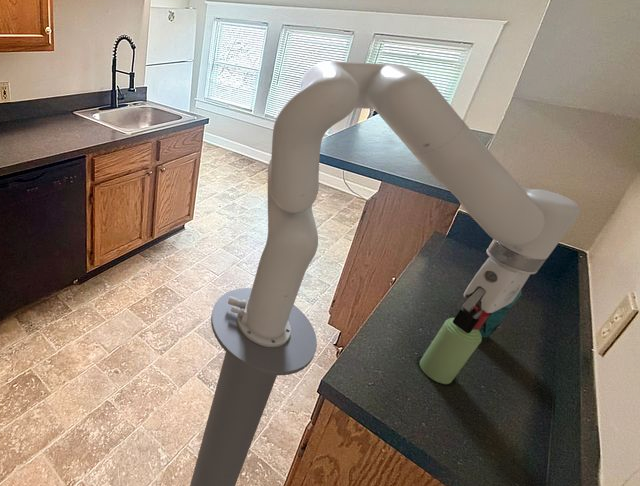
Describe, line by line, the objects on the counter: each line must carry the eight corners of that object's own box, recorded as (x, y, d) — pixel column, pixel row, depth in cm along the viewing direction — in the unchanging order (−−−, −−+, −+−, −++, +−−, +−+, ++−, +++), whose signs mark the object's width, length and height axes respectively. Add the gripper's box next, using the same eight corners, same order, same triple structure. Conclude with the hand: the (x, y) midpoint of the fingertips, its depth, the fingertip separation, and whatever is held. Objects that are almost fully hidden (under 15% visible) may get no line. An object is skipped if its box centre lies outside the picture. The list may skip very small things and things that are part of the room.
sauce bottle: (422, 376, 83) (462, 317, 74) (416, 353, 88) (453, 296, 80) (455, 388, 81) (500, 329, 73) (448, 364, 87) (489, 306, 78)
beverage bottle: (451, 322, 98) (490, 263, 89) (471, 320, 100) (512, 261, 91) (474, 344, 93) (518, 282, 83) (495, 341, 94) (541, 280, 85)
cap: (454, 312, 80) (462, 299, 78) (475, 317, 79) (484, 304, 77) (462, 326, 76) (471, 313, 75) (484, 332, 76) (493, 318, 74)
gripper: (516, 278, 63) (463, 352, 72) (561, 257, 70) (508, 326, 79) (468, 251, 69) (425, 322, 77) (514, 234, 76) (470, 301, 84)
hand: (467, 323), depth 78 cm, fingers closed on cap, 3 cm apart
